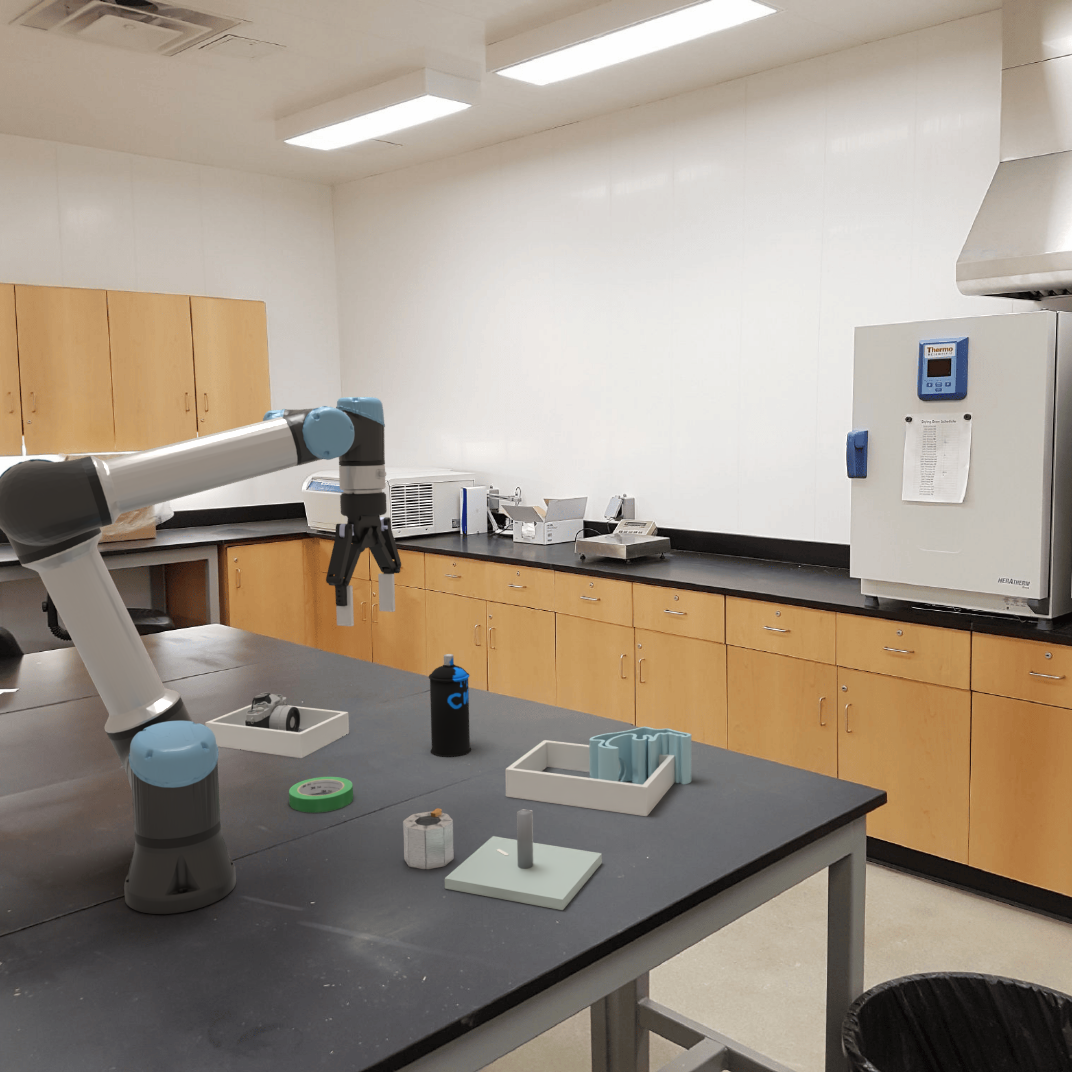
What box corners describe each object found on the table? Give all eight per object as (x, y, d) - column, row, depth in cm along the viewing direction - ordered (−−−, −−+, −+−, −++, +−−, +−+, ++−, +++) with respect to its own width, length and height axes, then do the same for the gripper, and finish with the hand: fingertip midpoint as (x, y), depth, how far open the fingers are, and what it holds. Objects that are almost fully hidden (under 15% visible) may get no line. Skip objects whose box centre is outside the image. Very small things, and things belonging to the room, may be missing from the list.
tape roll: (290, 816, 171) (289, 801, 171) (288, 794, 182) (287, 780, 182) (356, 809, 174) (355, 794, 174) (350, 787, 185) (349, 773, 185)
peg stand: (562, 910, 136) (561, 842, 135) (444, 888, 143) (443, 823, 142) (601, 863, 150) (601, 801, 149) (493, 845, 157) (492, 786, 156)
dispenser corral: (646, 816, 168) (646, 787, 168) (505, 796, 178) (505, 769, 178) (675, 781, 185) (675, 755, 184) (544, 765, 195) (544, 740, 194)
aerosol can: (422, 754, 202) (419, 657, 200) (444, 743, 210) (442, 649, 207) (457, 760, 198) (454, 661, 196) (478, 748, 206) (476, 652, 204)
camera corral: (301, 758, 201) (300, 734, 200) (206, 745, 210) (205, 722, 210) (349, 734, 216) (348, 712, 216) (258, 723, 226) (257, 702, 225)
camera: (277, 752, 205) (275, 705, 204) (236, 750, 207) (234, 703, 206) (309, 730, 220) (307, 685, 219) (271, 728, 222) (269, 684, 221)
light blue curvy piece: (660, 769, 193) (659, 722, 192) (693, 784, 184) (693, 735, 183) (582, 788, 183) (581, 738, 182) (613, 804, 175) (613, 752, 174)
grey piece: (438, 871, 148) (437, 828, 148) (397, 864, 151) (395, 822, 150) (460, 853, 155) (459, 811, 154) (420, 846, 157) (419, 805, 157)
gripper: (342, 496, 153) (346, 633, 155) (418, 487, 176) (421, 606, 179) (300, 496, 156) (305, 630, 158) (381, 487, 179) (384, 604, 181)
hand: (367, 618), depth 168 cm, fingers open, 13 cm apart
